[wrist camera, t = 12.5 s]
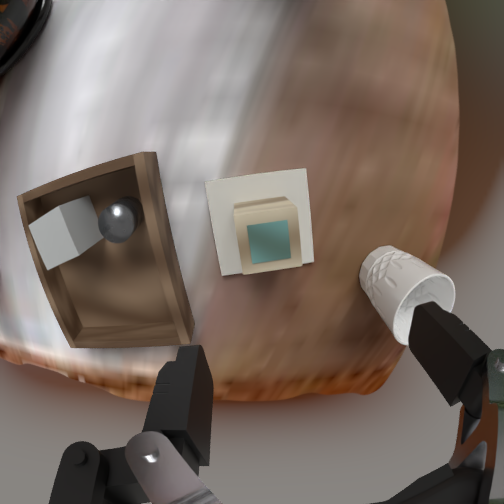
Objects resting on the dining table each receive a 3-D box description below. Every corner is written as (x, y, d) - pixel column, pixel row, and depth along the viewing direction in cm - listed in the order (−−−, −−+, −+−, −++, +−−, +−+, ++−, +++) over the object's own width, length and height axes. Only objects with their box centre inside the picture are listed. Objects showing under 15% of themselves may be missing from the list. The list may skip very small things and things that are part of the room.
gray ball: (113, 227, 27) (99, 241, 23) (113, 195, 25) (97, 204, 22) (144, 230, 27) (132, 245, 24) (145, 197, 26) (132, 207, 22)
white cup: (366, 310, 33) (402, 358, 23) (344, 263, 30) (383, 307, 21) (413, 277, 32) (458, 315, 22) (397, 228, 29) (449, 258, 20)
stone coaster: (205, 181, 27) (204, 182, 26) (304, 167, 27) (305, 168, 26) (222, 273, 30) (221, 275, 29) (312, 259, 30) (313, 261, 29)
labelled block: (234, 203, 27) (233, 216, 21) (284, 196, 27) (297, 207, 21) (241, 250, 29) (243, 275, 23) (289, 243, 29) (302, 266, 23)
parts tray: (36, 190, 25) (16, 196, 21) (155, 152, 25) (143, 151, 21) (82, 331, 32) (70, 347, 28) (194, 323, 32) (190, 343, 28)
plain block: (59, 212, 26) (28, 225, 20) (88, 195, 25) (58, 205, 20) (74, 250, 27) (47, 270, 22) (105, 236, 27) (79, 255, 22)
